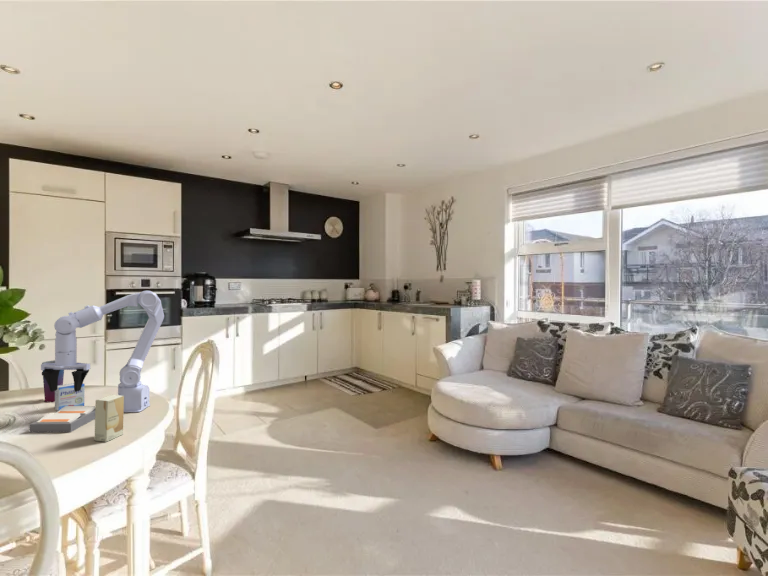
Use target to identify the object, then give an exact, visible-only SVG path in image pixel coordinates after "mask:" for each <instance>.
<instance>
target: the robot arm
mask: <svg viewBox="0 0 768 576" xmlns="http://www.w3.org/2000/svg"><path fill="white" fill-rule="evenodd" d="M138 304H139V305H140V306H141V308H143V310H145V312H146V314H147V316H148V319H147V321H146V323H145V326H144V328H143V330H142V332H141V334H140V336H139V339H138V340H137V342H136V345H135V347H134V349H133V351H132V353H131V355H130V357H129V359H128V360H127V362H126V364H125V365H124V366H123V367H122V368H121V369H120V370H119V382H120V383H118V384H117V395H121V396H124V412H123V413H140V412H142V411H144V410H145V409H147V408H148V407H150V406H151V403H150V387H149V385H146V384H142V381H141V371H142V369H143V367H144V363H145V360H146V358H147V356H148V354H149V352H150V349H151V347H152V345H153V342H154V341H155V339H156V338H157V337H156V336H157V333H159V329H160V327H161V326H162V323H163V321H164V319H165V314H164V310H163V305H162V300H161V299H160V297H159V296H158V294H157V293H156V292H153V291H151V290H143V291H141V292H134V293H132V294H128V295H125V296H123V297H120V298H117V299H115V300H113V301H111V302H108V303H106V304H103V305H100V306H97V305H94V304H93V305H89V304H88V305H86V306H84V308H82V309H80V310H77V311H74V312H73V311H70V312H68V315H63V316H60V317H59V318H58V319H56V320H55V322H54V325H53V326H54V330H55V338H54V360H55V363H45V364H42V363H41V364H40V370H41V371H42V372H41V376H42V378H43V377H44V378H45V379H46V381H47V383H48V385H49V388H50V391H51V392H53V391H56V390H57V387H58V376H59V372H60V370H64V371H65V370H66V371H70V370H71V371H72V372H71V375H72V379H73V383H74V391H75V392H77V391H80V390H81V387H82V384H83V383H84V381H85V378H86V376H87V375H88V373H89V372H90V370H91V363H87V362H86V363H85V362H78V361H77V358H78V357H77V356H78V355H77V352H78V351H77V350H78V347H77V345H78V343H77V342H78V340H77V334H76V333H77V330H76V329H78V328H79V329H81V328H84V327H86V326H89V325H92V324H94V323H97V322H99V321H102V319H103V317H104V315H106V314H109V313H113V312H114V311H118V310H120V309H123V308H126V307H138ZM43 370H45V371H44V372H43Z"/></svg>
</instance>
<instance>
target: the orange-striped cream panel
mask: <svg viewBox="0 0 768 576" xmlns="http://www.w3.org/2000/svg"><path fill="white" fill-rule="evenodd" d="M94 409H95V405H84V406H65V407H63V408H62V409H60V410H59V411H56V413H80V415H86V414H88V413H90V412H92V411H93V410H94Z"/></svg>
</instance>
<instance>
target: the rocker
mask: <svg viewBox="0 0 768 576" xmlns="http://www.w3.org/2000/svg"><path fill="white" fill-rule="evenodd" d="M78 417H80V413H55V412H54V413H53V412H49V413H47V414H45V415H44V416H42V417H41V418H39V419H38V420H39V421H38V420H37V421H38V422H37V423H71V422H73V421H74V420H76V419H77V418H78Z"/></svg>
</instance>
